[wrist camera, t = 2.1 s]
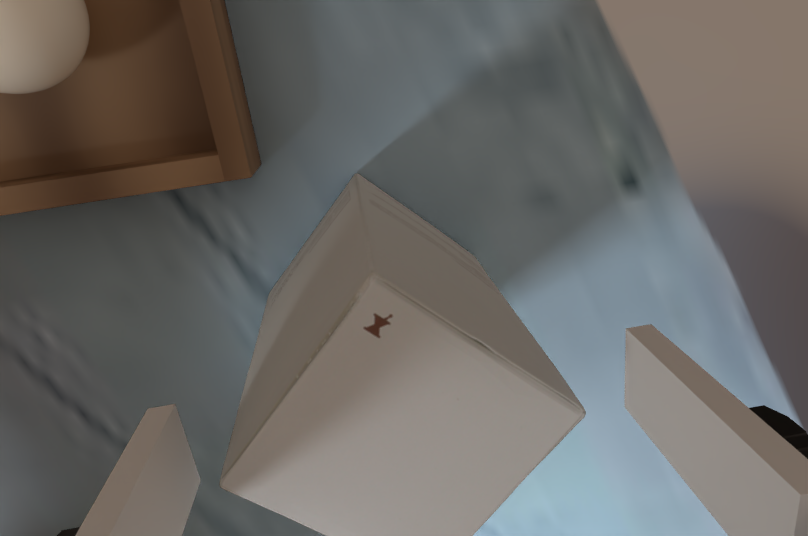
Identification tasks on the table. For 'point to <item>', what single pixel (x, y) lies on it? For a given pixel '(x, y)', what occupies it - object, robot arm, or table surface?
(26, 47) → the white ball
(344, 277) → the supplement box
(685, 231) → the table surface
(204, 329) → the table surface
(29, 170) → the caddy
